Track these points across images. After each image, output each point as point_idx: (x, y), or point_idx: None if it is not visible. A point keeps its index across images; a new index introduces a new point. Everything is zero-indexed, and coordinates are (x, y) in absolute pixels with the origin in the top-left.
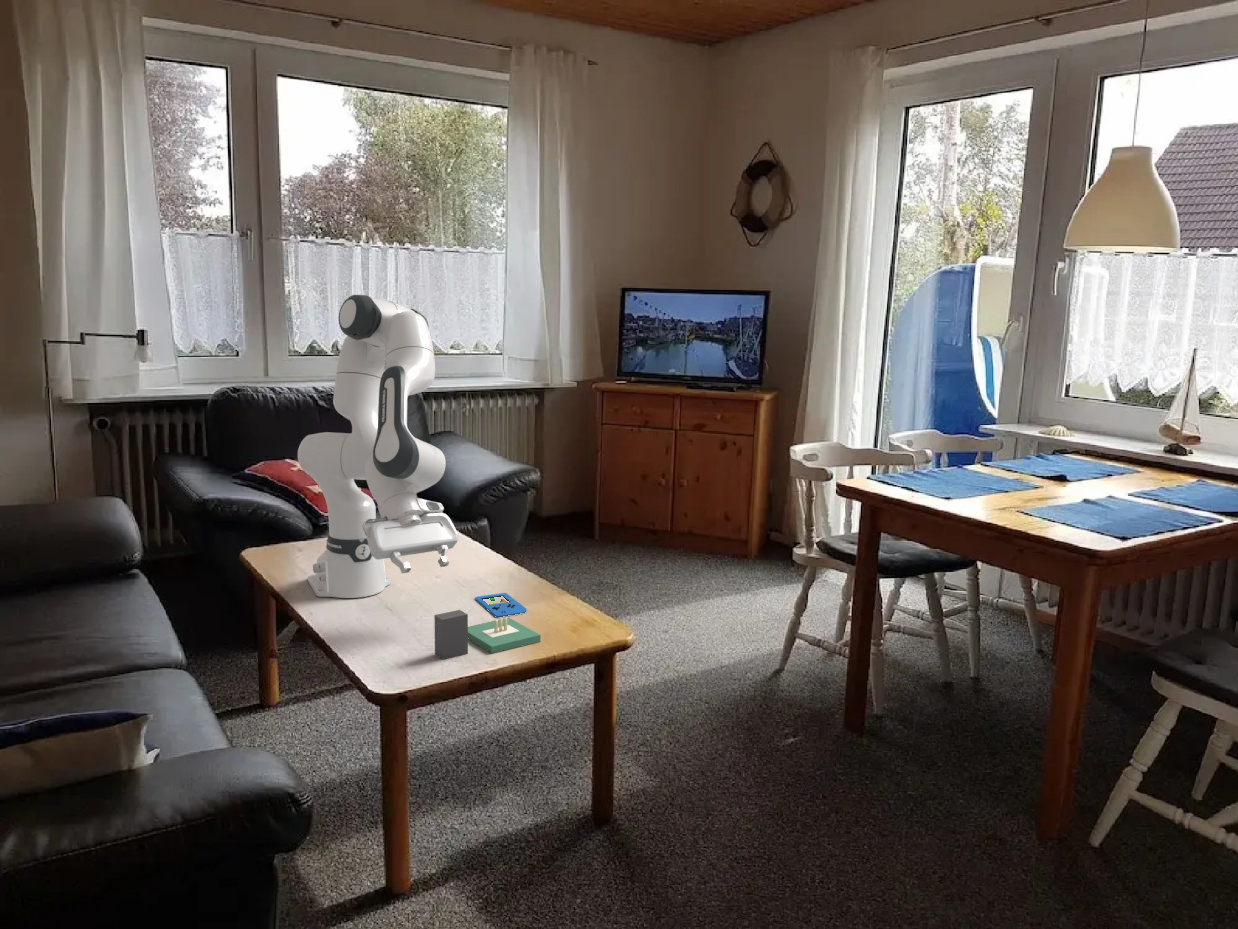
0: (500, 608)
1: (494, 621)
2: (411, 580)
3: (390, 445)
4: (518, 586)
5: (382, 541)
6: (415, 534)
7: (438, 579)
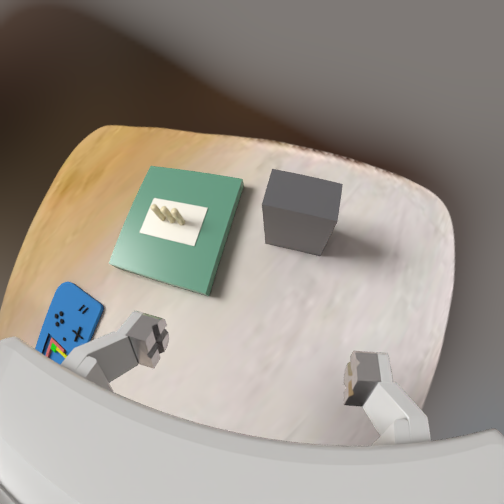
0: (73, 328)
1: (177, 212)
2: None
3: None
4: None
5: (495, 482)
6: None
7: None
